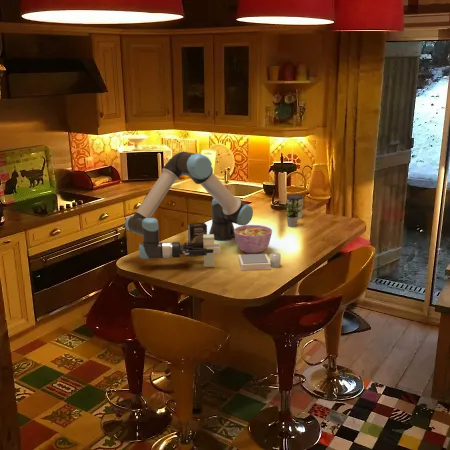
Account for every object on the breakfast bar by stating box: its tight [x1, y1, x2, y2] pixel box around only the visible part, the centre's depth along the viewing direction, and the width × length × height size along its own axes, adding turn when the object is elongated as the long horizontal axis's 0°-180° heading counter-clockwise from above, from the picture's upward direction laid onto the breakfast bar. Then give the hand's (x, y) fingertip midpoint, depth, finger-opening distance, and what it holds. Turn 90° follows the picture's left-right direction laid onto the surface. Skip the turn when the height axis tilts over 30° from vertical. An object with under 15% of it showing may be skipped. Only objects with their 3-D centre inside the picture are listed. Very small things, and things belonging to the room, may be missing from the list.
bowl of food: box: [234, 224, 273, 254], centre depth 281 cm, size 20×20×12 cm
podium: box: [238, 253, 272, 272], centre depth 263 cm, size 14×14×3 cm
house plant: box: [282, 200, 304, 228], centre depth 322 cm, size 14×14×16 cm
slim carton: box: [203, 233, 216, 268], centre depth 261 cm, size 5×5×15 cm
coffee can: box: [286, 193, 304, 220], centre depth 342 cm, size 10×10×14 cm
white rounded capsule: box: [269, 252, 282, 269], centre depth 261 cm, size 5×5×6 cm
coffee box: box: [187, 222, 208, 243], centre depth 277 cm, size 9×6×16 cm
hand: (219, 248), depth 261 cm, fingers closed on slim carton, 5 cm apart
